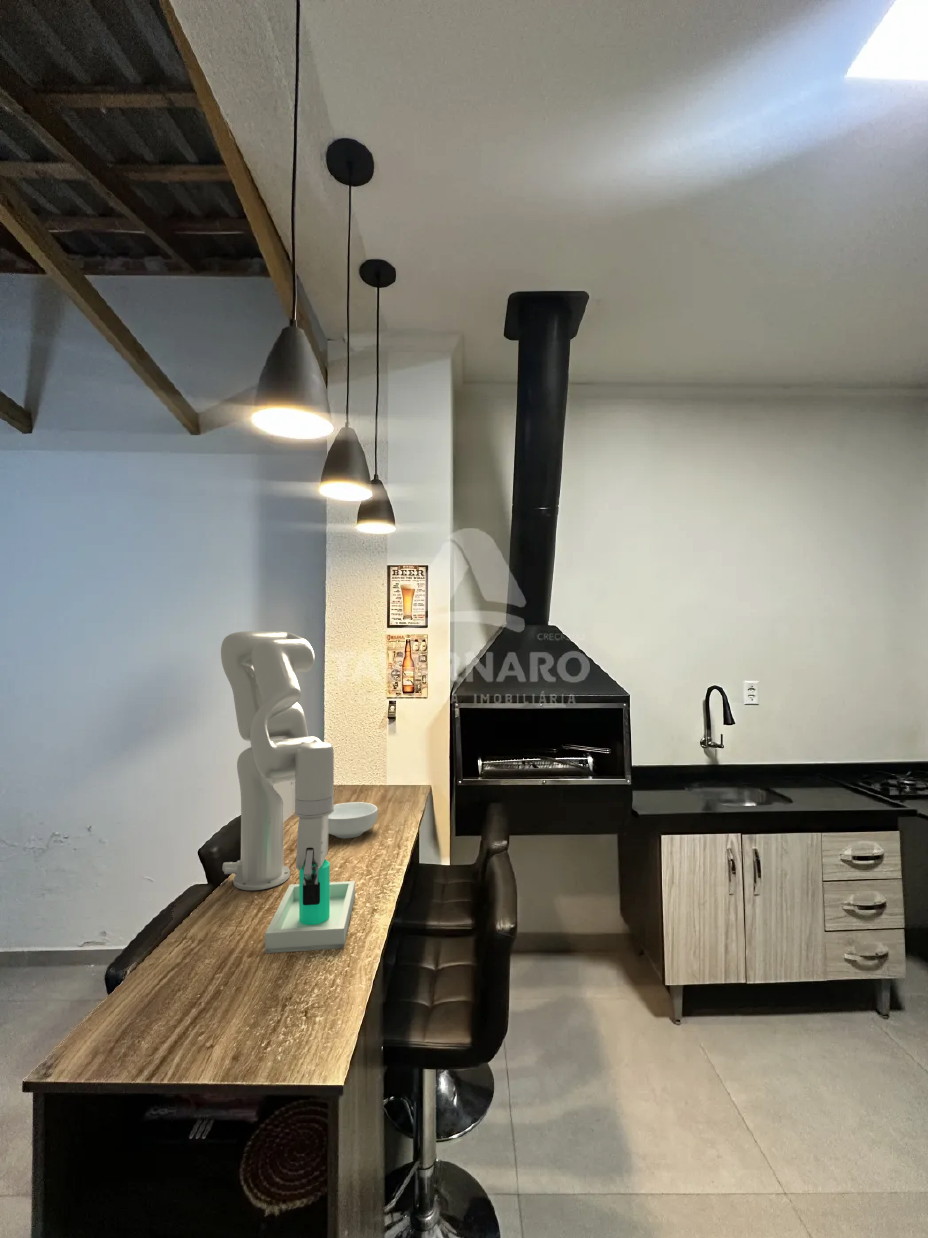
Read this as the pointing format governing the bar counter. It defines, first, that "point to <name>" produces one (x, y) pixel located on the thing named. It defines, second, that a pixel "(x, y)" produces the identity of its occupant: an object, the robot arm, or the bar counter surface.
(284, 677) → the robot arm
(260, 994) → the bar counter surface
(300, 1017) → the bar counter surface
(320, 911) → the candle
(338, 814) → the cereal bowl
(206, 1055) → the bar counter surface
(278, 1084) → the bar counter surface
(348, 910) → the tray
